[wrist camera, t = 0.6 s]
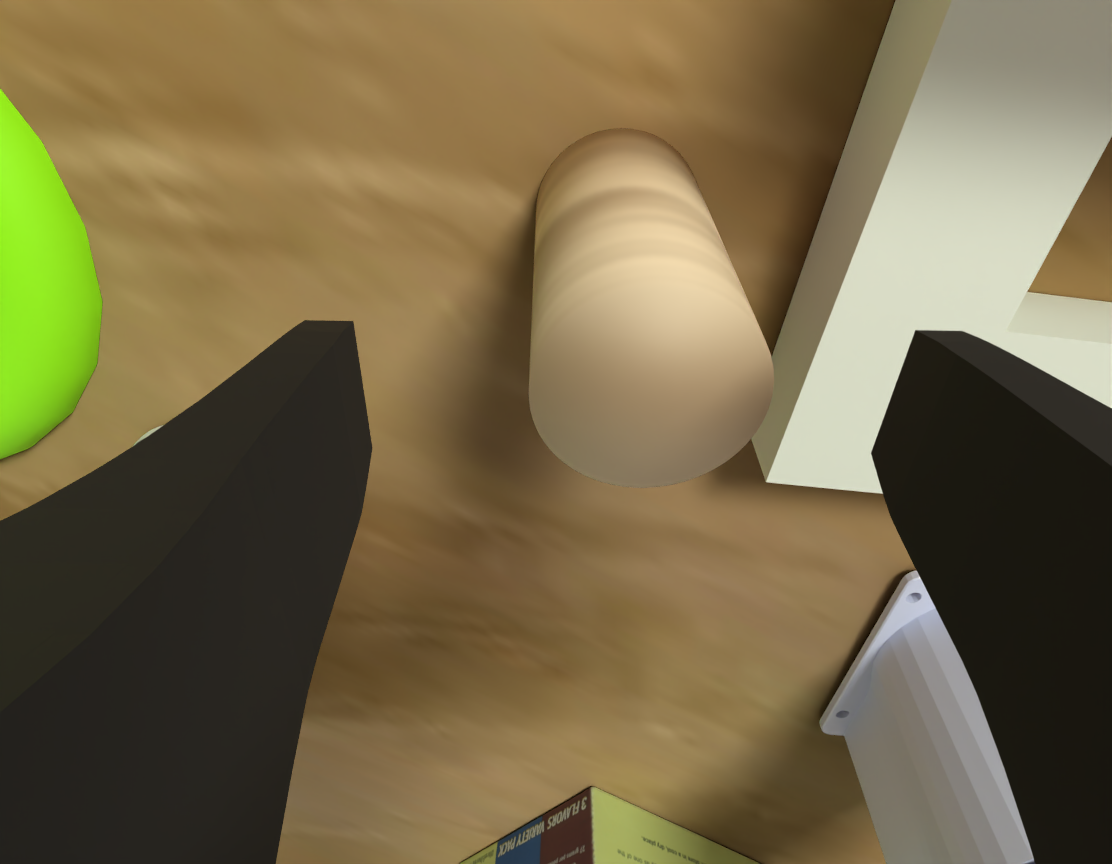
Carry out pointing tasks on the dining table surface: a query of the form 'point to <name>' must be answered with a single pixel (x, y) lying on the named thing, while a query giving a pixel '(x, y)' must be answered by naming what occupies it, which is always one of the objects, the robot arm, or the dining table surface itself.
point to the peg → (639, 319)
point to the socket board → (944, 222)
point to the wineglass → (41, 291)
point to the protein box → (604, 838)
